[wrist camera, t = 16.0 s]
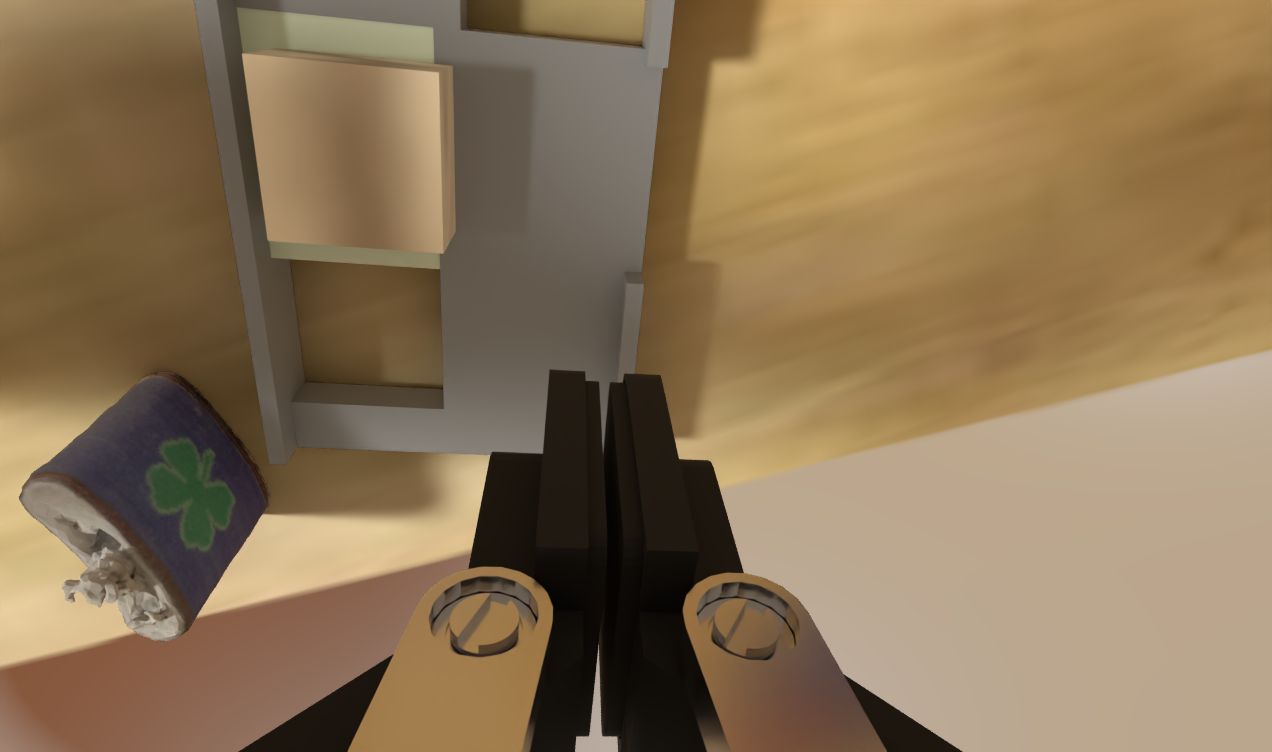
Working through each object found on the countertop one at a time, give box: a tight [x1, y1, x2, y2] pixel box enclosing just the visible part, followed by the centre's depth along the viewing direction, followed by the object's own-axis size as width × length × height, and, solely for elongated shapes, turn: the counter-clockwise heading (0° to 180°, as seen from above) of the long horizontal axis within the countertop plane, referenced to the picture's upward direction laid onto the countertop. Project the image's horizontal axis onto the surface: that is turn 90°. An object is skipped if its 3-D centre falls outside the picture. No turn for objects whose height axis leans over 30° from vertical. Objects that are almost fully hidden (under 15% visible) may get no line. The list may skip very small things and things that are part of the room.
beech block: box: [242, 48, 456, 254], centre depth 27 cm, size 6×6×3 cm
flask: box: [19, 372, 270, 642], centre depth 32 cm, size 9×3×11 cm, turn 17°
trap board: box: [194, 0, 675, 465], centre depth 30 cm, size 16×27×4 cm, turn 174°
